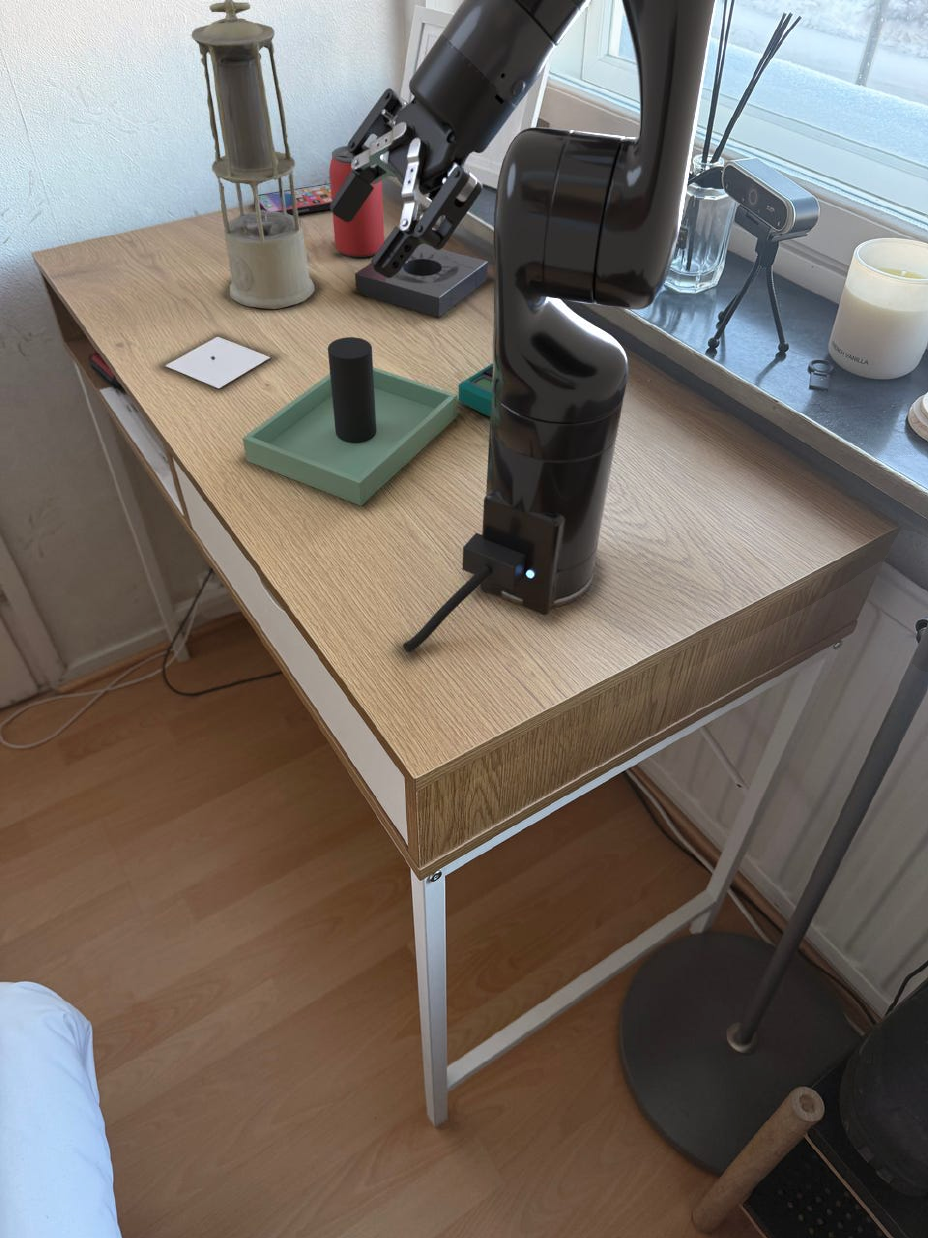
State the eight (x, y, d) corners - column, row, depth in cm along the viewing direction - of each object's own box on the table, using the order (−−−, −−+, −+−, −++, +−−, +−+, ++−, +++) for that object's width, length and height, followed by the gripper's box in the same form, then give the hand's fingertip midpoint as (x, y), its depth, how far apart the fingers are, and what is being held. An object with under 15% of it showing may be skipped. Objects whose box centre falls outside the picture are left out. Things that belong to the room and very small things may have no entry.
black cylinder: (361, 447, 83) (355, 362, 77) (327, 435, 85) (318, 350, 78) (384, 428, 86) (380, 344, 79) (351, 416, 87) (344, 332, 81)
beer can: (331, 241, 118) (322, 145, 110) (378, 236, 120) (373, 141, 111) (340, 261, 114) (333, 163, 105) (389, 256, 115) (386, 159, 107)
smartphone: (251, 195, 126) (347, 180, 131) (252, 202, 127) (348, 186, 132) (267, 213, 122) (366, 196, 127) (268, 220, 123) (366, 203, 127)
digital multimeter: (590, 373, 96) (593, 348, 93) (512, 431, 87) (514, 405, 85) (535, 351, 99) (537, 327, 97) (455, 405, 90) (455, 380, 88)
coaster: (270, 357, 96) (269, 350, 95) (218, 388, 91) (217, 381, 91) (217, 336, 99) (216, 330, 98) (164, 365, 94) (163, 359, 93)
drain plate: (438, 317, 104) (439, 297, 102) (356, 293, 108) (354, 273, 106) (487, 280, 111) (488, 260, 109) (407, 258, 115) (407, 239, 113)
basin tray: (361, 506, 78) (359, 483, 76) (246, 460, 83) (242, 437, 81) (457, 416, 89) (457, 394, 87) (350, 380, 93) (349, 358, 91)
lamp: (232, 312, 103) (179, 10, 82) (226, 266, 112) (177, -18, 91) (319, 305, 105) (290, 8, 84) (307, 260, 114) (278, -20, 92)
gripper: (408, -4, 67) (292, 178, 73) (498, 81, 60) (361, 272, 67) (468, 55, 73) (356, 219, 79) (556, 139, 66) (425, 310, 73)
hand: (358, 243), depth 73 cm, fingers open, 8 cm apart
